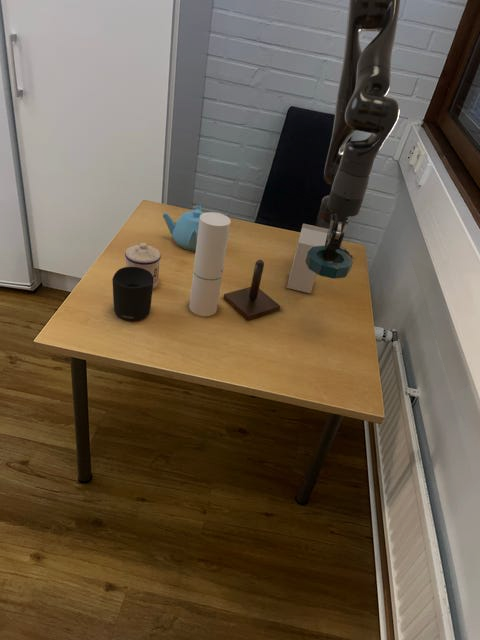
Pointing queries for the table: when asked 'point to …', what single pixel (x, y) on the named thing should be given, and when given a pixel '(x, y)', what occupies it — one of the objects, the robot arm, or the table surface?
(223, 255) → the cylindrical container
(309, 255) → the ring
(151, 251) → the teacup with lid
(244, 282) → the table surface
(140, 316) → the pen holder
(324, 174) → the robot arm
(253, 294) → the stand
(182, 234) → the teapot
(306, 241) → the milk carton
